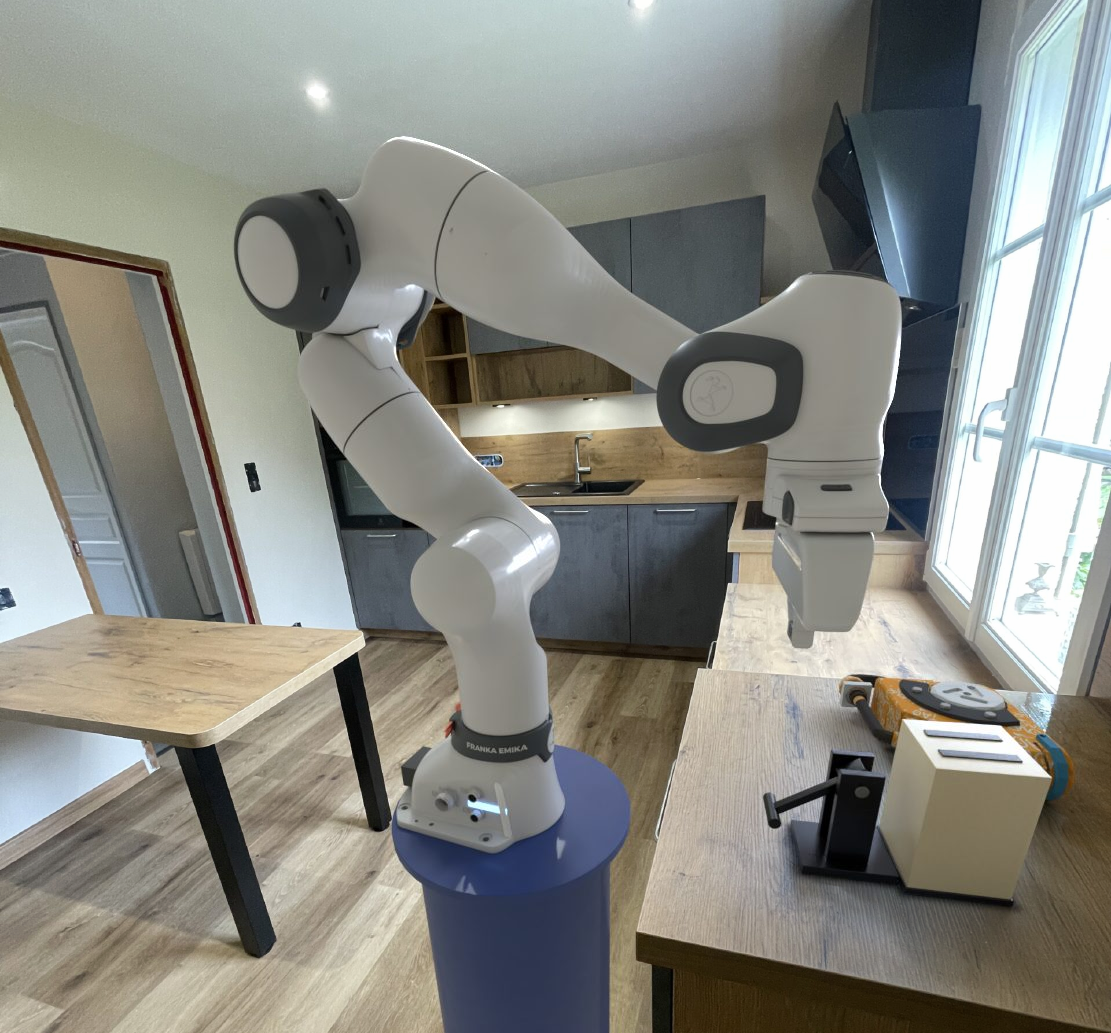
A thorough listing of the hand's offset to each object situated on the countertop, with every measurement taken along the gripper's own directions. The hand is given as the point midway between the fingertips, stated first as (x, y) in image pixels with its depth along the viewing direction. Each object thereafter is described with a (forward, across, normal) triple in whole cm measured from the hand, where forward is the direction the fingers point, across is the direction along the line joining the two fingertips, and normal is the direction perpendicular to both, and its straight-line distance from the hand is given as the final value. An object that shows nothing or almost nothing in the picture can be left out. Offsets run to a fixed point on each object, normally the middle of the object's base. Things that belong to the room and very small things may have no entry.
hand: (798, 642), depth 54 cm
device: (+29, -33, +28) cm, 52 cm away
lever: (+22, -6, +6) cm, 23 cm away
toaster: (+29, -6, +19) cm, 35 cm away
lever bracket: (+29, -6, +9) cm, 31 cm away
